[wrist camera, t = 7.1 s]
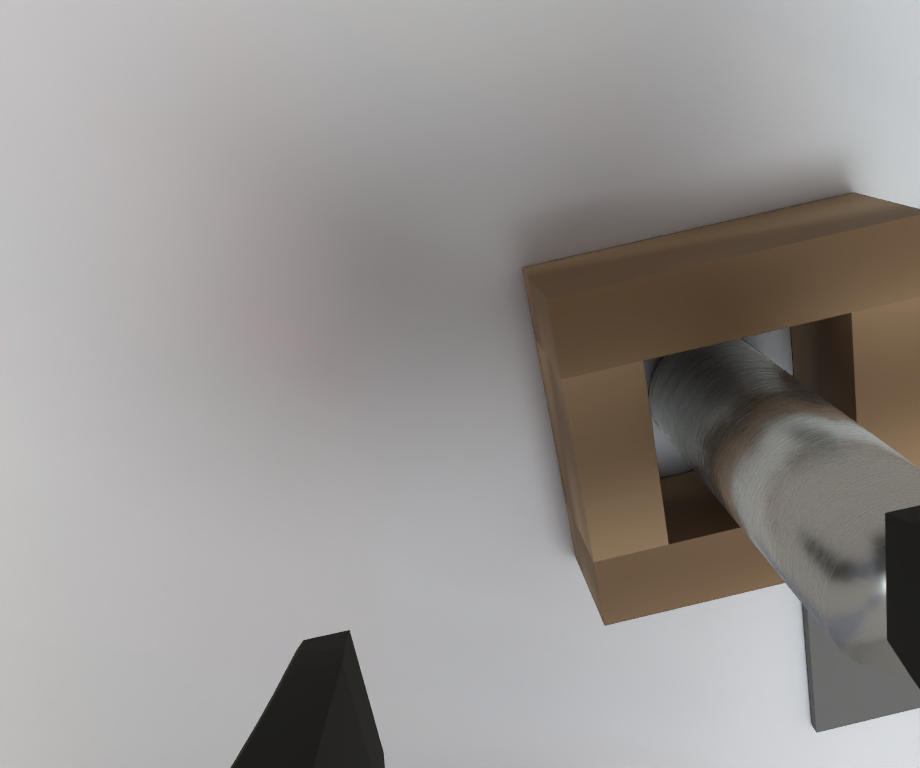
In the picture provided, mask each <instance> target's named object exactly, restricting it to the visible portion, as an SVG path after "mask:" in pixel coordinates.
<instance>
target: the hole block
mask: <svg viewBox="0 0 920 768" xmlns="http://www.w3.org/2000/svg"><path fill="white" fill-rule="evenodd" d="M522 269H523V274H524V279H525V285H526V290H527V296H528V301H529V306H530V312H531V317H532V323H533V328H534V334H535V339H536V344H537V350H538V355H539V361H540V366H541V371H542V377H543V382H544V388H545V393H546V399H547V404H548V409H549V415H550V420H551V426H552V431H553V436H554V442H555V447H556V453H557V458H558V463H559V469H560V474H561V480H562V485H563V491H564V496H565V501H566V507H567V512H568V518H569V523H570V528H571V534H572V539H573V545H574V550H575V556H576V559H577V562H578V564H579V566H580V569H581V571H582V573H583V576H584V578H585V580H586V583H587V585H588V587H589V590H590V592H591V594H592V597H593V599H594V601H595V604H596V606H597V608H598V611H599V613H600V615H601V618H602V620H603V622H604V625H610V624H614V623H618V622H622V621H626V620H631V619H635V618H639V617H643V616H647V615H652V614H656V613H660V612H664V611H669V610H673V609H677V608H681V607H685V606H690V605H694V604H698V603H702V602H706V601H711V600H715V599H719V598H723V597H727V596H732V595H736V594H740V593H744V592H748V591H753V590H757V589H761V588H765V587H769V586H774V585H778V584H782V583H785V581H784V580H783V579H782V578H781V577H780V575H779V574H778V573H777V572H776V570H775V569H774V568H773V567H772V565H771V564H770V563H769V562H768V561H767V559H766V558H765V557H764V556H763V554H762V553H761V552H760V551H759V549H758V548H757V547H756V546H755V545H754V543H753V542H752V541H751V540H750V538H749V537H748V536H747V535H746V533H745V532H744V531H743V530H742V529H741V527H740V526H739V525H738V524H737V522H736V521H735V520H734V519H733V517H732V516H731V515H730V514H729V513H728V511H727V510H726V509H725V508H724V506H723V505H722V504H721V503H720V501H719V500H718V499H717V498H716V496H715V495H714V494H713V493H712V492H711V490H710V489H709V488H708V487H707V485H706V484H705V483H704V482H703V480H702V479H701V478H700V477H699V476H698V474H697V473H696V472H695V471H691V472H686V473H682V474H678V475H674V476H669V477H665V478H661V479H660V478H659V471H658V464H657V457H656V450H655V442H654V435H653V428H652V421H651V414H650V407H649V399H648V392H647V385H646V378H645V371H644V364H643V361H644V360H649V359H653V358H657V357H662V356H666V355H670V354H675V353H679V352H683V351H688V350H692V349H696V348H701V347H705V346H709V345H714V344H718V343H722V342H726V341H731V340H735V339H739V338H744V337H748V336H752V335H757V334H761V333H765V332H770V331H774V330H778V329H783V328H787V327H791V340H792V354H793V367H794V378H796V379H797V380H798V381H800V382H801V383H803V384H804V385H805V386H807V387H808V388H809V389H811V390H812V391H814V392H815V393H816V394H818V395H819V396H821V397H822V398H823V399H825V400H826V401H827V402H829V403H830V404H832V405H833V406H834V407H836V408H837V409H838V410H840V411H841V412H843V413H844V414H845V415H847V416H848V417H849V418H851V419H852V420H854V421H855V422H856V423H858V424H859V425H861V426H862V427H863V428H865V429H866V430H867V431H869V432H870V433H872V434H873V435H874V436H876V437H877V438H878V439H880V440H881V441H883V442H884V443H885V444H887V445H888V446H889V447H891V448H892V449H894V450H895V451H896V452H898V453H899V454H901V455H902V456H903V457H905V458H906V459H907V460H909V461H910V462H912V463H913V464H914V465H916V466H917V467H918V468H920V209H917V208H913V207H909V206H905V205H901V204H897V203H893V202H889V201H885V200H882V199H878V198H874V197H870V196H866V195H862V194H858V193H849V194H845V195H840V196H836V197H832V198H827V199H823V200H818V201H814V202H810V203H805V204H801V205H796V206H792V207H788V208H783V209H779V210H774V211H770V212H766V213H761V214H757V215H753V216H748V217H744V218H739V219H735V220H731V221H726V222H722V223H717V224H713V225H709V226H704V227H700V228H695V229H691V230H687V231H682V232H678V233H674V234H669V235H665V236H660V237H656V238H652V239H647V240H643V241H638V242H634V243H630V244H625V245H621V246H616V247H612V248H608V249H603V250H599V251H594V252H590V253H586V254H581V255H577V256H573V257H568V258H564V259H559V260H555V261H551V262H546V263H542V264H537V265H533V266H529V267H524V268H522Z"/></svg>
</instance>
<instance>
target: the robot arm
mask: <svg viewBox="0 0 920 768" xmlns="http://www.w3.org/2000/svg"><path fill="white" fill-rule="evenodd" d="M885 551H886V616H887V641H888V643H889V644H890V646H891V647H892V649H893V650H894V652H895V653H896V655H897V656H898V658H899V659H900V661H901V662H902V664H903V666H904V667H905V669H906V670H907V672H908V673H909V675H910V676H911V678H912V679H913V681H914V682H915V683H916V685H917V686H918V688H919V689H920V505H918V506H914V507H909V508H905V509H900V510H896V511H891V512H886V513H885ZM231 768H385V765H384V753H383V749H382V746H381V742H380V738H379V735H378V731H377V728H376V724H375V720H374V717H373V713H372V710H371V706H370V702H369V699H368V695H367V692H366V688H365V684H364V681H363V677H362V673H361V670H360V666H359V663H358V659H357V655H356V652H355V648H354V645H353V641H352V637H351V634H350V630H348V631H343V632H339V633H334V634H330V635H325V636H321V637H316V638H311V639H307V640H303V642H302V643H301V645H300V646H299V647H298V649H297V650H296V652H295V654H294V656H293V658H292V660H291V662H290V664H289V666H288V668H287V669H286V671H285V673H284V675H283V677H282V679H281V681H280V683H279V685H278V686H277V688H276V690H275V692H274V694H273V696H272V698H271V699H270V701H269V703H268V705H267V707H266V708H265V710H264V712H263V714H262V716H261V717H260V719H259V721H258V723H257V724H256V726H255V728H254V729H253V731H252V733H251V734H250V736H249V738H248V740H247V741H246V743H245V745H244V746H243V748H242V750H241V751H240V753H239V755H238V756H237V758H236V760H235V761H234V763H233V765H232V766H231Z"/></svg>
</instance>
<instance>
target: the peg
mask: <svg viewBox="0 0 920 768" xmlns="http://www.w3.org/2000/svg"><path fill="white" fill-rule="evenodd" d="M649 406H650V410H651V413H652V416H653V418H654V420H655V422H656V423H657V425H658V426H659V427H660V429H661V430H662V431H663V432H664V434H665V435H666V436H667V437H668V439H669V440H670V441H671V442H672V444H673V445H674V446H675V447H676V448H677V450H678V451H679V452H680V453H681V455H682V456H683V457H684V458H685V460H686V461H687V462H688V463H689V464H690V466H691V467H692V468H693V469H694V471H695V472H696V473H697V474H698V476H699V477H700V478H701V479H702V480H703V482H704V483H705V484H706V485H707V487H708V488H709V489H710V490H711V492H712V493H713V494H714V495H715V496H716V498H717V499H718V500H719V501H720V503H721V504H722V505H723V506H724V508H725V509H726V510H727V511H728V513H729V514H730V515H731V516H732V517H733V519H734V520H735V521H736V522H737V524H738V525H739V526H740V527H741V529H742V530H743V531H744V532H745V533H746V535H747V536H748V537H749V538H750V540H751V541H752V542H753V543H754V545H755V546H756V547H757V548H758V549H759V551H760V552H761V553H762V554H763V556H764V557H765V558H766V559H767V561H768V562H769V563H770V564H771V565H772V567H773V568H774V569H775V570H776V572H777V573H778V574H779V575H780V577H781V578H782V579H783V580H784V581H785V583H786V584H787V585H788V586H789V588H790V589H791V590H792V591H793V593H794V594H795V595H796V596H797V597H798V599H799V600H800V601H801V602H802V604H803V605H804V606H805V607H806V609H807V610H808V611H809V612H810V613H811V615H812V616H813V617H814V618H815V620H816V621H817V622H818V623H819V625H820V626H821V627H822V628H823V630H824V631H825V632H826V633H827V634H828V636H829V637H830V638H831V639H832V641H833V642H834V643H835V644H836V646H837V647H838V648H839V649H840V650H841V651H842V652H843V653H844V654H845V655H846V656H847V657H848V658H850V659H851V660H853V661H854V662H856V663H858V664H860V665H862V666H864V667H867V668H870V669H873V670H878V671H883V672H907V670H906V669H905V667H904V666H903V664H902V662H901V661H900V659H899V658H898V656H897V655H896V653H895V652H894V650H893V649H892V647H891V646H890V644H889V643H888V641H887V616H886V551H885V513H886V512H891V511H896V510H900V509H905V508H909V507H914V506H918V505H920V468H918V467H917V466H916V465H914V464H913V463H912V462H910V461H909V460H907V459H906V458H905V457H903V456H902V455H901V454H899V453H898V452H896V451H895V450H894V449H892V448H891V447H889V446H888V445H887V444H885V443H884V442H883V441H881V440H880V439H878V438H877V437H876V436H874V435H873V434H872V433H870V432H869V431H867V430H866V429H865V428H863V427H862V426H861V425H859V424H858V423H856V422H855V421H854V420H852V419H851V418H849V417H848V416H847V415H845V414H844V413H843V412H841V411H840V410H838V409H837V408H836V407H834V406H833V405H832V404H830V403H829V402H827V401H826V400H825V399H823V398H822V397H821V396H819V395H818V394H816V393H815V392H814V391H812V390H811V389H809V388H808V387H807V386H805V385H804V384H803V383H801V382H800V381H798V380H797V379H796V378H794V377H793V376H792V375H790V374H789V373H787V372H786V371H785V370H783V369H782V368H781V367H779V366H778V365H776V364H775V363H774V362H772V361H771V360H769V359H768V358H767V357H765V356H764V355H763V354H761V353H760V352H758V351H757V350H756V349H754V348H753V347H752V346H750V345H749V344H747V343H746V342H745V341H743V340H741V339H735V340H731V341H726V342H722V343H718V344H714V345H709V346H705V347H701V348H696V349H692V350H688V351H683V352H679V353H675V354H670V355H666V356H664V357H663V359H662V360H661V361H660V363H659V364H658V366H657V368H656V369H655V371H654V373H653V376H652V379H651V382H650V387H649Z"/></svg>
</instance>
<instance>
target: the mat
mask: <svg viewBox="0 0 920 768" xmlns="http://www.w3.org/2000/svg"><path fill="white" fill-rule="evenodd" d="M802 606H803V619H804V631H805V644H806V657H807V669H808V682H809V695H810V708H811V720H812V726H813V728H814V729H815V731H816V732H821V731H825V730H829V729H833V728H837V727H842V726H846V725H850V724H854V723H858V722H862V721H866V720H870V719H875V718H879V717H883V716H887V715H891V714H895V713H899V712H904V711H908V710H912V709H916V708H920V689H919V688H918V686H917V685H916V683H915V682H914V681H913V679H912V678H911V676H910V675H909V673H908V672H883V671H878V670H873V669H870V668H867V667H864V666H862V665H860V664H858V663H856V662H854V661H853V660H851V659H850V658H848V657H847V656H846V655H845V654H844V653H843V652H842V651H841V650H840V649H839V648H838V647H837V646H836V644H835V643H834V642H833V641H832V639H831V638H830V637H829V636H828V634H827V633H826V632H825V631H824V630H823V628H822V627H821V626H820V625H819V623H818V622H817V621H816V620H815V618H814V617H813V616H812V615H811V613H810V612H809V611H808V610H807V609H806V607H805V606H804V605H803V604H802Z"/></svg>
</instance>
